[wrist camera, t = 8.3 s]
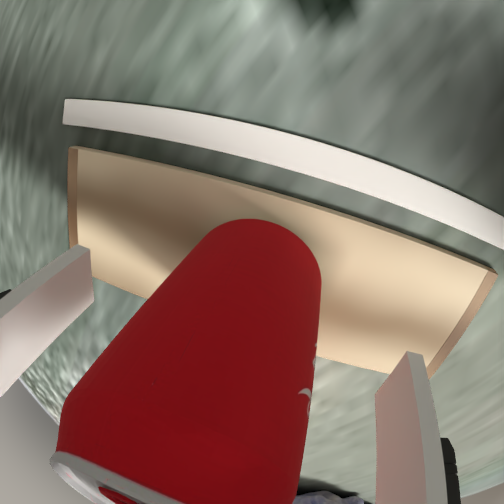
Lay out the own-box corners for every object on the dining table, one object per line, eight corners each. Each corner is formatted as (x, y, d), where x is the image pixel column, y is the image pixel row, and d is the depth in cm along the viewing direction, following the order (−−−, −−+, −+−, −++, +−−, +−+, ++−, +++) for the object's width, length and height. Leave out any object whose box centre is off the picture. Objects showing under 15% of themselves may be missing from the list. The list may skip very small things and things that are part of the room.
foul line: (68, 98, 14) (65, 99, 14) (526, 229, 11) (529, 231, 11) (65, 123, 15) (62, 124, 14) (515, 254, 12) (517, 256, 12)
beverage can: (213, 324, 17) (109, 517, 7) (185, 219, 15) (-12, 406, 4) (326, 323, 16) (291, 567, 5) (317, 206, 13) (258, 520, 3)
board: (75, 145, 15) (68, 147, 15) (493, 269, 13) (498, 274, 12) (77, 263, 19) (71, 267, 18) (425, 374, 16) (427, 381, 16)
